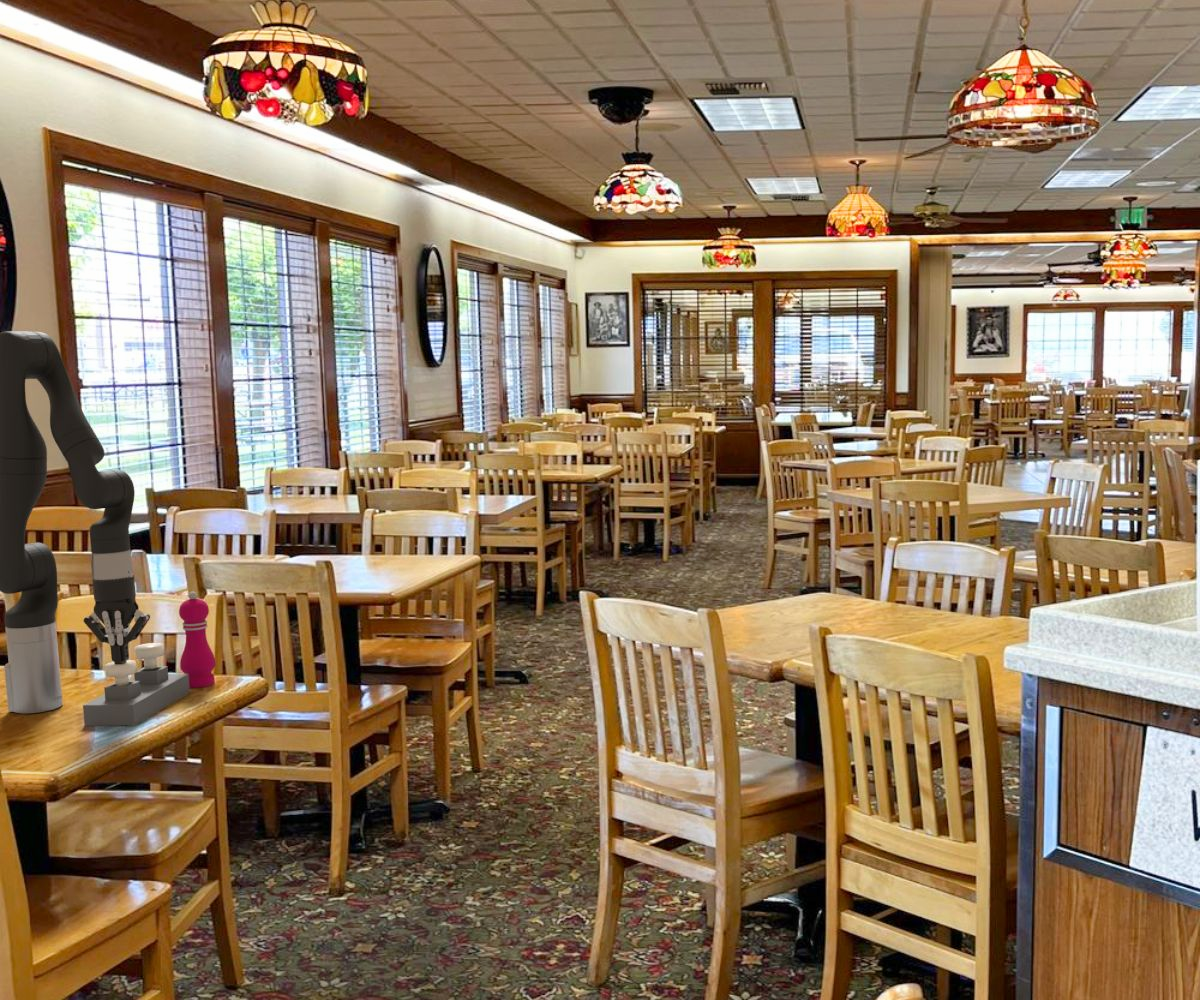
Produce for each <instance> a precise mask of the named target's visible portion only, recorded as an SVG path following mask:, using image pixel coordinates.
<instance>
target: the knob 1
mask: <svg viewBox="0 0 1200 1000" xmlns="http://www.w3.org/2000/svg"><path fill="white" fill-rule="evenodd" d="M104 669H105V676H106V677H108V678H114V682H115V684H116V686H127V685H129V681H130V680H129V676H132V675H134V674H135V673H136V672H137V669H138V668H137V662H136V660H133V659H128V660H127V662H126V663H124V664H115V663H114V661H111V662H108V663H105V665H104Z"/></svg>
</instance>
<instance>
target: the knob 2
mask: <svg viewBox="0 0 1200 1000" xmlns="http://www.w3.org/2000/svg"><path fill="white" fill-rule="evenodd" d="M164 655H165V646H164V643H163V642H148V643H142V644H138V645H136V646H134V656H135V657H134V658H135V659H138V660H140V659H141V660H143V665H144V667H145V669H154V668H157V666H158V663H157V662H158V661H157V660H158V659H157V658H159V657H162V656H164Z"/></svg>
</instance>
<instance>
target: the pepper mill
mask: <svg viewBox="0 0 1200 1000" xmlns="http://www.w3.org/2000/svg"><path fill="white" fill-rule="evenodd" d="M187 597H188V599H186V600H184V601H183V602H182V603H181V604H180V606H179V610H178V614H179V617H180V619H182V621H183V623H182V629H183V631H184V633H185V644H184V649H183V651H182V654H181V656H180V661H179V664H180V665H179V669H180V671H182V673H183V674H188V676H189V689H191V688H192V689H193V688H194V689H196V688H198V689H199V688H204V687H210V686H212V685H214V684H215V681H216V680H215V674H214V673H212V672H213V671H214V669H215V668H216V664H217V663H216V657H215V655H214V652H213V650H212V648H211V646H210V645H209V642H208V639H207V634H206V631H207V630H206V629H207V628H208V627H209V626H208V624H207V623H208V620H206V618H208V615H209V613H210V609H209V605H208V603H207V601H205V600H203V599H200V598H198V594H197V592H195V591H190V592H189V593H188V596H187Z"/></svg>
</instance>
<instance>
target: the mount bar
mask: <svg viewBox="0 0 1200 1000" xmlns="http://www.w3.org/2000/svg"><path fill="white" fill-rule="evenodd" d="M133 675H134V678H132V679H131V680H129V685H127V686H116V684H115V681H114V682H112V683H110V684H108V685H106V686H104V687H103V689H104V694H102V695H100V696H98V697H96V698H94V699H93V700H90V701H89V702H87V703H84V704H83V705H82V710H83V711H82V712H83V722H84V724H83V725H84V726H85V727H100V726H101V727H108V726H109V727H110V726H111V727H115V726H116V727H117V726H118V725H119V726H120V725H135V726H136V725H138V724H140V723H142V722H143V721H145V720H147V719H148V718H150V717H151V715H152V716H153V715H155V714H156V712H157V713H158V712H160V711H162V710H164V709H165V708H167V707H168V706H170V705H171V704H173V703H175V702H176V701H178V700H180V699H182V698H183V697H185V696H187V695H189V694H190V693H191V691H190V688H189V676H188V674H185V673H169V670H168V666H167V665H166V666H165V665H164V666H163V665H161V666H159V665H157V668H154V669H145V667H142V668H139V669H138V670H137V672H136V673H135V674H133ZM139 722H140V723H139ZM119 726H118V727H119ZM120 727H121V726H120Z"/></svg>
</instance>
